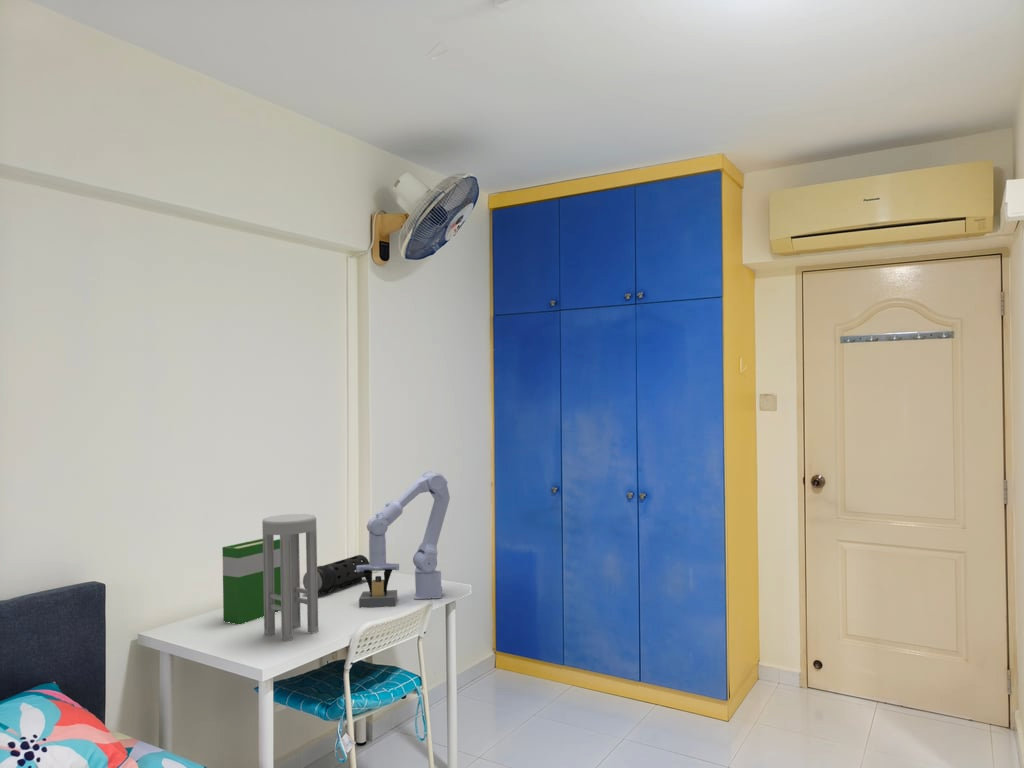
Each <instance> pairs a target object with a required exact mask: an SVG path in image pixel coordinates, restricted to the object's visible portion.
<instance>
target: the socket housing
mask: <svg viewBox="0 0 1024 768" xmlns="http://www.w3.org/2000/svg"><path fill="white" fill-rule="evenodd" d="M397 601H398V589H391V590H389V589H387V592H385V596H377V597H372V593H370V590H369V591H368V590H367V591H362V592H361V594H360V596H359V598H358V605H359V606H358V608H359V607H360V608H361V607H367V608H382V607H384V606H388V607H395V606H396V605H397ZM360 608H359V609H360ZM384 608H385V607H384Z"/></svg>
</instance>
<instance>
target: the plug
mask: <svg viewBox="0 0 1024 768" xmlns="http://www.w3.org/2000/svg"><path fill="white" fill-rule="evenodd" d="M374 577H375V578H374V579H372V597H377V596H385V592H384V579H382V576H380V575H377V576H374Z"/></svg>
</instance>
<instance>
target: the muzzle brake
mask: <svg viewBox="0 0 1024 768" xmlns="http://www.w3.org/2000/svg"><path fill="white" fill-rule="evenodd" d="M367 564H370V563H369V559H368V558H367V557H366V556H364V555H362V554H358V555H353V556H350V557H347V558H343V559H341V560H337V561H333V562H331V563H327V564H323V565H317V584H318V595H319V594H326V593H325V592H328V591H330V592H332V589H333V590H334V589H337V588H343V587H344V586H348V584H349V585H351V583H352V584H354V582H355V583H357V581H358V582H360V581H362V579H363V578H365V577H364V571H360V572H357V571H356V567H357V565H367ZM359 580H360V581H359ZM302 584H303V589H307V571H306V572H305V573H304V575H303V578H302ZM342 586H343V587H342ZM322 592H323V593H322ZM328 593H329V592H328Z"/></svg>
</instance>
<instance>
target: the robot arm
mask: <svg viewBox="0 0 1024 768" xmlns="http://www.w3.org/2000/svg"><path fill="white" fill-rule="evenodd" d="M422 493H430V495H431V497H432V498H433V503H432V507H431V511H430V514H429V518H428V521H427V525H426V529H425V532H424V534H423V535H424V536H423V539H422V542H421V543H420V545H418V548H417V551H416V552H415V553H414V555H413V557H412V562H413V563H412V564H414V566H415V569H414V582H415V586H414V587H415V593H414V596H413V599H414V600H429V599H430V600H431V598H432V599H441V598H442V593H443V586H442V571H441V570H436V568H437V566H438V547H437V546H438V542H439V539H440V535H441V532H442V528H443V524H444V521H445V518H446V517H445V516H446V514H447V510H448V507H449V502H450V498H451V497H450V492H449V488H448V481H447V479H446V478H445V476H444V475H443V474H442V473H437V472H433V471H426V472H424V473H423V474H422V476H420V477H418V478H417V479H416V480H415V481H414V482H413V484H412V485H411V486H410V487H408V489H407V490H406V491H405V492H404V493H403V494H402V495H400V497H399V498H398V499H397V500H395V501H394V500H393V501H390V502H387V503H386V504H385V507H384V508H382V509H381V511H379V512H376V514H375V516H374V517H371V518H370V519H369V520H368V522H367V524H366V529H367V531H368V553H369V554H368V557H369V559H368V561H369V564H367V565H357V567H356V570H355V572H356V571H357V572H360V571H364V577H363V578H364V579H365V581H366V582H367V585H368V589H369V591H370V593H372V581H373V572H377V571H378V572H379V571H382V572H383V571H384V572H383V578H384V592H387V590H388V585H389V581H390V578H391V576H392V575H391V574H392V571H400V563H389V562H388V563H387V545H386V544H387V543H386V541H387V540H386V533H387V532H388V528H389V526H391V525H392V524H393V523H394V522H395V521H396V520H397V519H398V518H399V517H400V516H401V515H402V514H403V512H404V511H403V510H404V508H405V507H406V506H407V505H408V504H409V503H410V502H412V501H413V500H414V499H416V497H417V496H419V495H420V494H422Z"/></svg>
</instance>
